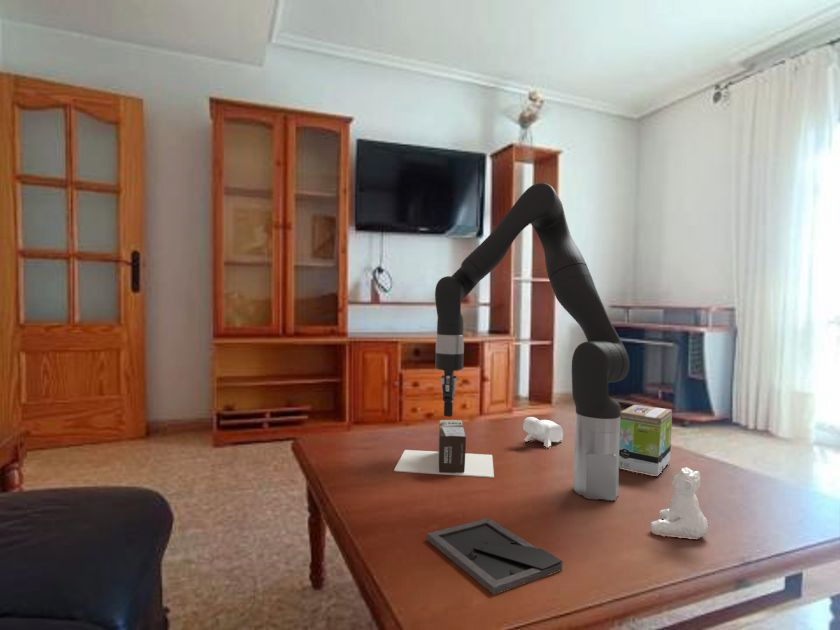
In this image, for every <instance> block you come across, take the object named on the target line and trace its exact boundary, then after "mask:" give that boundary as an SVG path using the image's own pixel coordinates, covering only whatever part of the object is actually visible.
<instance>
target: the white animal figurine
mask: <svg viewBox="0 0 840 630" xmlns="http://www.w3.org/2000/svg"><path fill="white" fill-rule="evenodd" d="M522 429H523V430H524V432H526V433H527V435H526V436H525V438H524V439H523V441H524V440H525V441H530V440H531V441H532V440H537V441H539V442H541V443H543V447H544V446H546V447H549V446H551V447H552V443H554V442H555V443H557V442H559V441H560V440H562V441H563V440H564V439H563V437H564V435H565V434H564V431H563V428H562V426H561V425H560V424H557V423H556V422H554V421H552V420H548V419H540V420H539V419H538V418H536V417H534V416H528V417H526V418H525V419H524V420H523V425H522ZM531 441H530V442H531Z"/></svg>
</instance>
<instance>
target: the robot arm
mask: <svg viewBox="0 0 840 630" xmlns="http://www.w3.org/2000/svg"><path fill="white" fill-rule="evenodd" d="M529 225H531V226H532V228H533V229H534V231H535V232H536V235H537V236H538V239H539V241H540V244H541V246H542V248H543V252H544V261H545V269H546V274H547V278H548V279H549V283H550V286H551V288H552V291H553V293H554V294H553V295H554V296H555V298H556V300H557V301H558V303H559V304H560V305H561V306H562V308H563V309H564V310H565V311H566V312H567V313H568V314H569V315H570V316H571V318H573V320H574V321H575V322H576V323H577V324H578V325H579V326H580V328H581V330H582V332H583V334H584V335H585V338H586V340H587V341H585V342H581V343H580V344H578V346H577V347H576V348H575V349H574V351H573V355H572V357H571V358H572V359H571V390H572V394H571V395H572V399H573V402H574V404H575V405H574V406H575V417H574V418H575V419H574V421H575V425H574V426H575V427H574V454H573V455H574V458H573V459H574V462H573V463H574V465H573V490H574V492H575V493H577V494H578V495H581V496H582V495H583V496H582V497H583V498H585V499H586V498H588V500H598V499H606V500H605V501H613V500H616V501H617V498H618V497H619V480H620V479H619V478H620V475H619V474H620V469H619V445H620V412H621V411H622V410H621V408H622V407H621V404H620V402H619V401H617V400H614V399H613V398H611V397H610V394H609V384H610V383H617V382H620V381H622V380H624V379H625V378H626V377H628V376H627V375H628V374H629V370H630V358H629V355H628V352H627V349H626V347H625V346H624V344H623V342H622V340H621V338H620V336H619V334H618V332H617V331H616V328H615V327H614V325H613V323H612V322H611V321H612V320H610V319H611V318H609V316H608V313H607V311H606V308H605V306H604V304H603V301H602V299H601V297H600V294H599V293H598V290H597V287H596V285H595V282H594V280H593V276H592V275H591V272H590V269H589V267H588V264H587V262H586V261H585V259H584V256H583V254H582V252H581V251H580V249H579V248H578V245H577V244H576V243H575V241H574V239H573V237H572V235H571V231H570V229H569V225H568V222H567V218H566V214H565V211H564V206H563V203H562V201H561V199H560V196H559V195H558V194H557V192H556V190H555V188H553V186H552V185H550V184H548V183H545V182H537V183H535V184H533V185H530V186H529V187H528V188H527V189H526V190H525V191H524V192H523V193H522V194H521V195H520V197H519V198H518V199H517V200H516V202H515V203H514V204H513V205H512V207H511V208H510V209H509V211H508V212H507V213H506V214H505V215H504V217H502V219H501V221H500V222H499V223H498V225H497V226H495V228H494V229H493V230H492V232H491V233H490V234H489V235H488V236H487V237H486V238H485V239H484V240H483V241H482V242H481V243H480V244H479V245H478V246H477V247H476V248H475V249H474V250H473V251H472V252H471V253H470V254H468V256H466V257H465V259H463V261H462V262H461V266H460V267H459V268H458V269H457V270H456V271H455V272H454V273H453V274H452V275H451V276H450V275H447V276H443V277H442V278H440V279H438V281H437V283H436V285H435V289H434V290H435V291H434V297H435V298H434V300H435V301H434V302H435V308H436V315H437V316H436V317H437V322H436V325H437V326H436V338H435V339H436V340H435V359H434V360H435V361H434V362H435V363H434V364H435V369H436V370H439V371H443V372H444V373H443V374H442V376H441V377H440V383H441V394H442V401H443V416H444V417H448V418H449V417H452V416H453V413H454V412H453V406H454V405H453V404H454V400H455V398H454V397H455V393H456V387H457V386H456V385H457V384H456V383H457V382H458V381H457V380H458V375H455V371H457V372H458V371H462V370H463V369H464V357H465V356H464V354H465V342H464V316H463V315H462V311H461V309H462V308H461V307H462V306H461V305H462V303H461V301H462V300H464V299H465V298H466V297H467V296H468V295H469V294H470V293H471V291H473V290H474V288H475V287H476V286H477V284H478V283H479V282H481V280H483V279H484V278H485V277H486V276H488V274H489V273H490V272H492V271H493V270H494V269H495V268H496V267H497V266H498V265H499V264H500V263H501V261H502V260H503V259H504V257H505V256H506V255H507V253H508V251H509V249H511V246H512V244H513V243H514V241H515V240H516V238H517V237H518V236H519V235H520V234H521V232H522V231H523V230H524V229H525V228H526V227H528V226H529ZM617 496H618V497H617ZM616 497H617V498H616Z"/></svg>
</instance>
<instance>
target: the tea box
mask: <svg viewBox="0 0 840 630" xmlns="http://www.w3.org/2000/svg"><path fill="white" fill-rule="evenodd" d="M672 422H673V410H672V409H670V408H661V407H656V406H655V407H654V406H649V405H648V406H647V405H640V404H632V405H630V406H629V407H627V408H625V409H623V410H621V411H620V445H619V468H624V469H629V470H633V471H637V472H643V473H648V474H653V475H659V474H660V473H661V474H662V472H661V471H662V470H663V469H664V468H665V466H666V465H667V464H668V462H669V461H670V462H671V446H672V430H673V429H672V427H673V426H672V425H673V424H672ZM668 465H669V464H668ZM665 469H666V468H665ZM665 469H664V470H665ZM664 470H663V471H664ZM661 474H660V475H661ZM660 475H659V476H660Z"/></svg>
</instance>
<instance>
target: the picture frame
mask: <svg viewBox="0 0 840 630" xmlns="http://www.w3.org/2000/svg"><path fill="white" fill-rule="evenodd" d="M426 540H427V542H429V543H430V544H432V545H433V546H434V547H435V548H436V549H437V550H439V551H440V552H441V553H442V554H444V555H445V556H446V557H447V558H448V559H450V560H451V562H453V563H454V564H456V565H457V566H458V567H459V568H461V570H463V571H464V572H465V571H466V572H465V573H467V574H468V575H469V576H470V577H471V576H472V578H473V580H475V579H476V580H477V581H476V580H475V581H476V582H478V584H480V585H481V584H482V585H483V586H482V585H481V586H482V587H484V588H485V587H486V588H487V589H488V590H489V592H490V591H491V592H492V593H493V594H496V595H498V594H497V593H499V592H501V591H504V590H507V589H510V588H513V587H515V586H518V585H521V584H523V583H526V584H528V583H527V582H529V583H531V582H530V581H532V580H534V581H536V580H535V579H537V580H539V579H538V578H540V579H542V578H541V577H543V578H545V577H548V576H550V575H549V574H551V573H554V572H556V573H558V572H557V571H559V570H562V571H563V560H562V559H560V558H558V557H557V556H555V555H554V554H552V553H550V552H549V551H547V550H545V549H543V548H540V547H536V546H535V545H533V544H531V543H529V542H528V541H527V540H525V539H523V538H522V537H520V536H519V535H517V534H515V533H514V532H512V531H510V530H508V529H507V528H506V527H504V526H502V525H501V524H499V523H497V522H495V521H494V520H492V519H491V518H489V517H486V518H483V519H479V520H476V521H472V522H471V521H470V522H468V523H467V522H466V523H463V524H460V525H457V526H456V525H455V526H451V527H448V528H443V529H439V530H436V531H431V532H427V534H426ZM559 572H560V571H559ZM554 574H555V573H554ZM547 575H548V576H547ZM551 575H552V574H551ZM544 576H545V577H544ZM532 582H533V581H532ZM521 586H522V585H521ZM518 587H519V586H518ZM486 588H485V589H486ZM515 588H516V587H515ZM487 589H486V590H487ZM513 589H514V588H513ZM488 590H487V591H488ZM510 590H511V589H510ZM507 591H508V590H507ZM491 592H490V593H491ZM504 592H505V591H504ZM492 593H491V594H492ZM493 594H492V595H493ZM499 594H500V593H499Z"/></svg>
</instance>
